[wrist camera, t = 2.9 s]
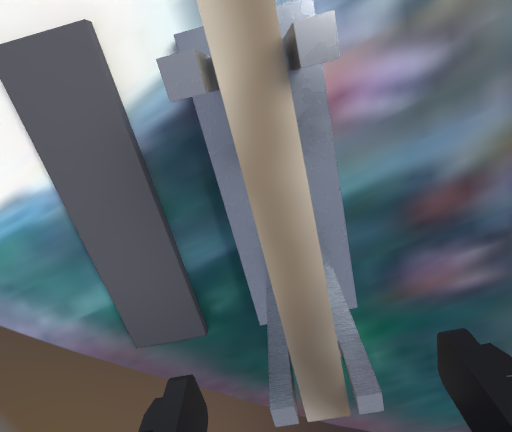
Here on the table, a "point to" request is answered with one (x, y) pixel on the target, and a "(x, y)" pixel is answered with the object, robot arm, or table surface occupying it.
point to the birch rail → (278, 190)
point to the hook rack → (319, 180)
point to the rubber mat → (102, 178)
